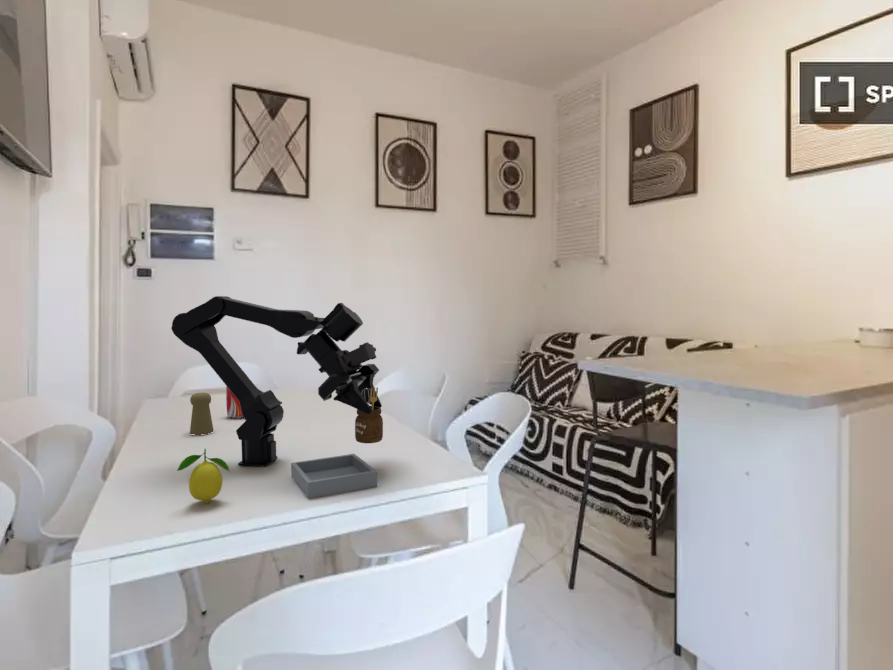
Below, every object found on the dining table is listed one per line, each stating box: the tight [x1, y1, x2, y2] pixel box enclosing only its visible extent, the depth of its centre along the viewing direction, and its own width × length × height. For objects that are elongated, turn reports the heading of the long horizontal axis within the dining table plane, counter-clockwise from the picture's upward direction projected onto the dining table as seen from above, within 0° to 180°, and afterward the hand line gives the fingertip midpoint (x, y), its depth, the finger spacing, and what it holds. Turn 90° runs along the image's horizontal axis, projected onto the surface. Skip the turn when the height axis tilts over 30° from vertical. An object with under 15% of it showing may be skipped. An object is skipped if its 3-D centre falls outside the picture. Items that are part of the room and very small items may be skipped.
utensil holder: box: [354, 386, 384, 444], centre depth 114 cm, size 6×6×12 cm
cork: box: [189, 392, 214, 436], centre depth 146 cm, size 6×6×11 cm
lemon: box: [176, 448, 230, 504], centre depth 96 cm, size 7×6×10 cm
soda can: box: [225, 385, 243, 419], centre depth 166 cm, size 7×7×12 cm
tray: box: [290, 453, 378, 500], centre depth 108 cm, size 14×14×3 cm
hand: (375, 410), depth 114 cm, fingers closed on utensil holder, 5 cm apart
